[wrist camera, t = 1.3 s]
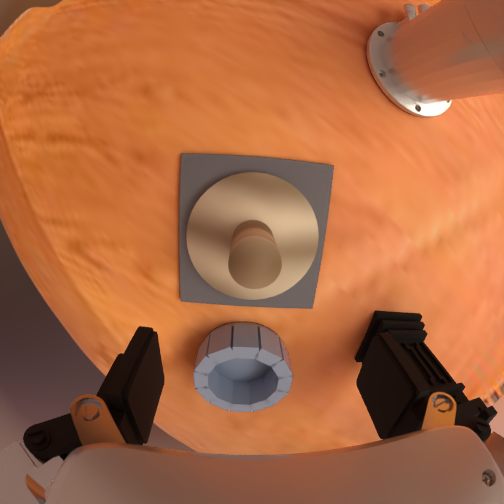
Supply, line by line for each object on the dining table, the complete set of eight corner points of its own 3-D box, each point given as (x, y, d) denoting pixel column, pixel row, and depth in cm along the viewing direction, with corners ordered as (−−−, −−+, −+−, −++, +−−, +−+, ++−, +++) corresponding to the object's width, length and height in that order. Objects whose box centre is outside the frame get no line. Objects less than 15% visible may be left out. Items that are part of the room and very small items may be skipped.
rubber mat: (182, 153, 25) (181, 153, 25) (332, 165, 26) (333, 165, 26) (181, 298, 31) (180, 301, 30) (311, 306, 31) (312, 308, 31)
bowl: (198, 317, 31) (191, 343, 27) (292, 322, 32) (299, 348, 27) (201, 382, 35) (196, 408, 30) (280, 386, 36) (283, 412, 31)
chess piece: (375, 310, 32) (457, 428, 13) (419, 313, 33) (501, 409, 14) (354, 358, 34) (407, 476, 16) (398, 358, 35) (457, 456, 16)
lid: (190, 168, 25) (169, 172, 18) (322, 178, 26) (350, 186, 19) (189, 290, 30) (173, 329, 22) (306, 297, 30) (322, 337, 23)
